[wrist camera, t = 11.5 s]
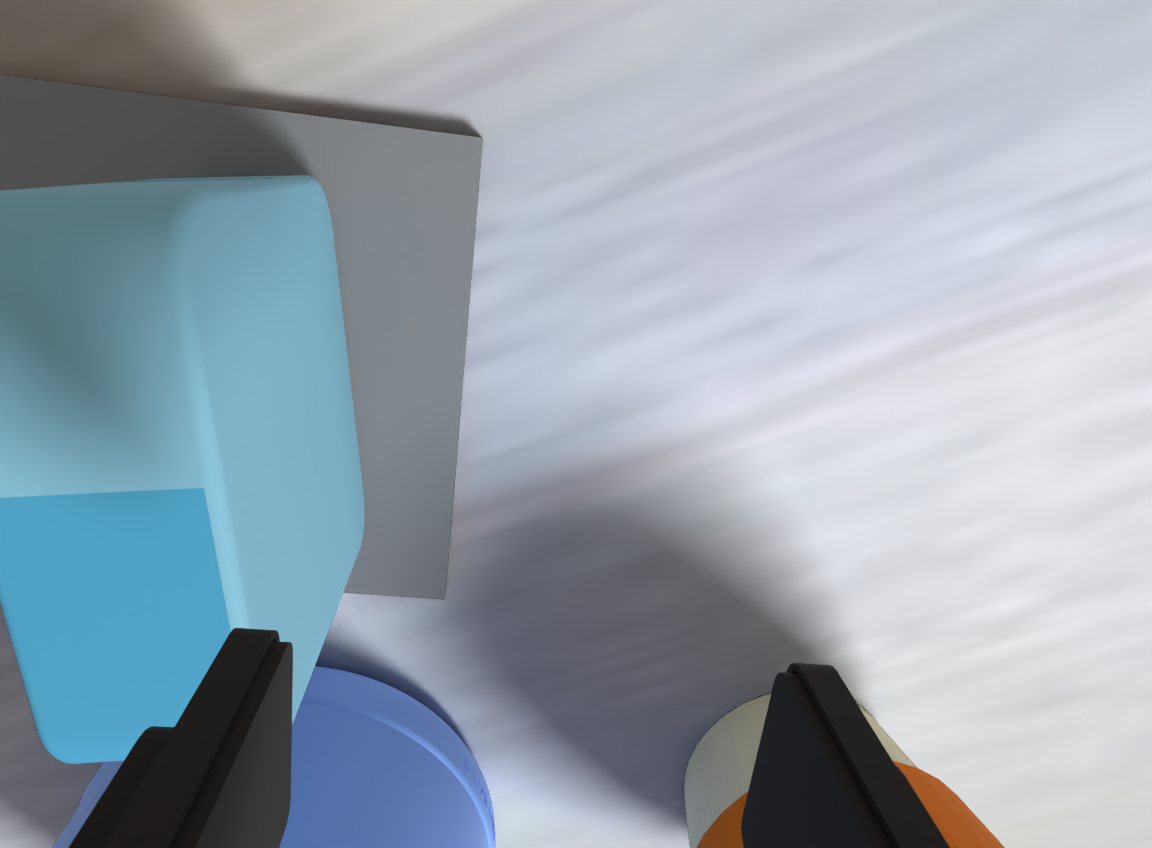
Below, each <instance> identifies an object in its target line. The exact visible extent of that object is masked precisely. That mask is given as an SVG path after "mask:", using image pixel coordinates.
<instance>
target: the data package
mask: <svg viewBox="0 0 1152 848" xmlns="http://www.w3.org/2000/svg"><path fill="white" fill-rule="evenodd" d="M363 531H364V492H363V483H362V475H361V466H360V458H359V449H358V440H357V432H356V423H355V415H354V406H353V398H352V389H351V381H350V372H349V363H348V355H347V346H346V338H345V329H344V321H343V312H342V304H341V295H340V286H339V278H338V269H337V261H336V252H335V244H334V235H333V227H332V221H331V215H330V210H329V206H328V202H327V199H326V196H325V193H324V191H323V189H322V187H321V185H320V184H319V182H318V181H317V180H316V179H315V178H313V177H311V176H308V175H291V176H250V177H210V178H169V179H151V180H137V181H124V182H110V183H97V184H84V185H70V186H57V187H43V188H30V189H16V190H3V191H0V604H1V608H2V611H3V614H4V618H5V621H6V625H7V628H8V632H9V635H10V639H11V642H12V646H13V649H14V652H15V656H16V659H17V663H18V666H19V670H20V673H21V677H22V680H23V683H24V687H25V690H26V694H27V697H28V701H29V704H30V708H31V711H32V715H33V718H34V721H35V725H36V728H37V731H38V734H39V737H40V739H41V741H42V743H43V745H44V747H45V748H46V749H47V751H48V752H49V753H50V754H51V755H52V756H53V757H54V758H56V759H58V760H59V761H61V762H65V763H68V764H81V763H95V762H110V761H124V760H125V758H126V757H127V755H128V754H129V752H130V751H131V749H132V747H133V746H134V744H135V743H136V741H137V740H138V738H139V737H140V736H141V734H142V733H143V732H144V731H145V730H146V729H147V728H149V727H151V726H159V727H175V725H176V724H177V722H178V720H179V718H180V717H181V715H182V713H183V712H184V710H185V708H186V707H187V705H188V703H189V701H190V700H191V698H192V696H193V695H194V693H195V691H196V690H197V688H198V686H199V684H200V683H201V681H202V679H203V678H204V676H205V674H206V673H207V671H208V669H209V668H210V666H211V664H212V662H213V661H214V659H215V657H216V656H217V654H218V652H219V651H220V649H221V647H222V645H223V644H224V642H225V640H226V639H227V637H228V635H229V634H230V632H231V631H232V630H233V629H234V628H248V629H264V630H277V631H278V633H279V637H280V642H291V643H292V646H293V686H292V724H293V722H294V719H295V716H296V714H297V711H298V709H299V706H300V703H301V701H302V698H303V696H304V693H305V690H306V688H307V685H308V683H309V680H310V677H311V675H312V672H313V670H314V667H315V664H316V662H317V659H318V657H319V654H320V651H321V649H322V646H323V644H324V641H325V638H326V636H327V633H328V631H329V628H330V625H331V623H332V620H333V618H334V615H335V612H336V610H337V607H338V605H339V602H340V599H341V597H342V594H343V592H344V589H345V586H346V584H347V581H348V579H349V576H350V573H351V571H352V568H353V566H354V563H355V560H356V558H357V555H358V553H359V550H360V547H361V543H362V539H363Z"/></svg>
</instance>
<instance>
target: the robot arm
mask: <svg viewBox="0 0 1152 848" xmlns="http://www.w3.org/2000/svg"><path fill="white" fill-rule="evenodd" d="M292 686H293V646H292V643H291V642H280V637H279V633H278V631H277V630H264V629H248V628H234V629H233V630H232V631H231V632H230V634H229V635H228V637H227V639H226V640H225V642H224V644H223V645H222V647H221V649H220V651H219V652H218V654H217V656H216V657H215V659H214V661H213V662H212V664H211V666H210V668H209V669H208V671H207V673H206V674H205V676H204V678H203V679H202V681H201V683H200V684H199V686H198V688H197V690H196V691H195V693H194V695H193V696H192V698H191V700H190V701H189V703H188V705H187V707H186V708H185V710H184V712H183V713H182V715H181V717H180V718H179V720H178V722H177V724H176V725H175V727H159V726H151V727H149V728H147V729H146V730H145V731H144V732H143V733H142V734H141V736H140V737H139V738H138V740H137V741H136V743H135V744H134V746H133V747H132V749H131V751H130V752H129V754H128V755H127V757H126V758H125V760H124V762H123V763H122V765H121V766H120V768H119V769H118V771H117V773H116V774H115V776H114V777H113V779H112V780H111V782H110V783H109V785H108V787H107V788H106V790H105V791H104V793H103V794H102V796H101V798H100V799H99V801H98V802H97V804H96V805H95V807H94V808H93V810H92V812H91V813H90V815H89V816H88V818H87V819H86V821H85V823H84V824H83V826H82V827H81V829H80V830H79V832H78V834H77V835H76V837H75V838H74V840H73V841H72V843H71V844H70V846H69V848H279V847H280V844H281V841H282V838H283V835H284V832H285V828H286V825H287V821H288V816H289V810H290V801H291V750H292ZM741 833H742V841H743V846H744V848H950V847H949V845H948V843H947V842H946V840H945V839H944V837H943V835H942V834H941V832H940V831H939V829H938V827H937V826H936V824H935V823H934V821H933V819H932V818H931V816H930V815H929V813H928V812H927V810H926V808H925V807H924V805H923V804H922V802H921V800H920V799H919V797H918V796H917V794H916V792H915V791H914V789H913V788H912V786H911V784H910V783H909V781H908V780H907V778H906V776H905V775H904V774H903V773H902V771H901V770H900V769H899V768H898V767H897V766H895V764H894V762H893V761H892V759H891V758H890V756H889V754H888V753H887V751H886V750H885V748H884V746H883V745H882V743H881V742H880V740H879V738H878V737H877V735H876V733H875V732H874V730H873V729H872V727H871V725H870V724H869V722H868V721H867V719H866V717H865V716H864V714H863V713H862V711H861V709H860V708H859V706H858V705H857V703H856V701H855V700H854V698H853V697H852V695H851V693H850V692H849V690H848V689H847V687H846V685H845V684H844V682H843V680H842V679H841V677H840V676H839V674H838V672H837V671H836V670H835V669H834V667H832V666H830V665H817V664H801V663H793V664H791V665H790V666H789V668H788V670H787V672H786V673H781V672H780V673H778V674H777V676H776V678H775V681H774V684H773V689H772V693H771V697H770V701H769V706H768V710H767V714H766V718H765V722H764V727H763V731H762V735H761V739H760V744H759V748H758V752H757V756H756V760H755V765H754V769H753V773H752V777H751V782H750V786H749V790H748V794H747V798H746V803H745V807H744V811H743V815H742V822H741Z"/></svg>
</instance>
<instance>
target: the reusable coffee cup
mask: <svg viewBox="0 0 1152 848" xmlns="http://www.w3.org/2000/svg"><path fill="white" fill-rule="evenodd" d="M770 697H771V694H768V695H764V696H761V697H759V698H756V699H754V700H751V701H749V702H746V703H744V704H742V705H740V706H739V707H737V708H735V709H734V710H732V711H731V712H729V713H727V714H726V715H724V716H723V717H722V718H721V719H720V720H719V721H718V722H716V723H715V724H714V725H713V726H712V727H711V728H710V729H709V730H708V731H707V732H706V734H705V735H704V736H703V737H702V739H701V740H700V741H699V742H698V744H697V746H696V748H695V750H694V752H693V753H692V755H691V757H690V759H689V762H688V766H687V770H686V774H685V782H684V797H685V806H686V816H687V825H688V835H689V844H690V848H744V846H743V841H742V833H741V822H742V815H743V811H744V807H745V803H746V798H747V794H748V790H749V786H750V782H751V777H752V773H753V769H754V765H755V760H756V756H757V752H758V748H759V744H760V739H761V735H762V731H763V727H764V722H765V718H766V714H767V710H768V706H769V701H770ZM858 706H859V705H858ZM859 708H860V709H861V711H862V713H863V714H864V716H865V717H866V719H867V721H868V722H869V724H870V725H871V727H872V729H873V730H874V732H875V733H876V735H877V737H878V738H879V740H880V742H881V743H882V745H883V746H884V748H885V750H886V751H887V753H888V754H889V756H890V758H891V759H892V761H893V762H894V764H895V766H897V767H898V768H899V769H900V770H901V771H902V773H903V774H904V775H905V776H906V778H907V780H908V781H909V783H910V784H911V786H912V788H913V789H914V791H915V792H916V794H917V796H918V797H919V799H920V800H921V802H922V804H923V805H924V807H925V808H926V810H927V812H928V813H929V815H930V816H931V818H932V819H933V821H934V823H935V824H936V826H937V827H938V829H939V831H940V832H941V834H942V835H943V837H944V839H945V840H946V842H947V843H948V845H949V847H950V848H1005V847H1004V846H1003V845H1002V844H1001V843H1000V842H999V841H998V840H997V839H996V838H995V836H994V835H993V834H992V833H991V832H990V831H989V830H988V829H987V828H986V827H985V825H984V824H983V823H982V822H981V821H980V820H979V819H978V818H977V817H976V816H975V814H974V813H973V812H972V811H971V810H970V809H969V808H968V807H967V806H966V805H965V803H964V802H963V801H962V800H961V799H960V798H959V797H958V796H957V795H956V794H955V793H954V792H953V791H952V790H950V789H949V788H948V787H947V786H946V785H945V784H944V783H942V782H941V781H940V780H939V779H937V778H935V777H933V776H931V775H930V774H928V773H926V772H924V771H922V770H920V769H918V768H917V767H916V766H915V765H914V763H913V762H912V761H911V760H910V759H909V758H908V757H907V755H906V754H905V753H904V752H903V751H902V750H901V749H900V748H899V746H898V745H897V744H896V743H895V742H894V741H893V740H892V739H891V737H890V736H889V735H888V734H887V733H886V732H885V731H884V729H883V728H882V727H881V726H880V725H879V724H878V723H877V722H876V720H875V719H874V718H873V717H872V716H871V715H870V714H868V713H867V712H866V711H865V710H864V709H863V708H862V707H860V706H859Z"/></svg>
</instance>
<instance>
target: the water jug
mask: <svg viewBox="0 0 1152 848" xmlns="http://www.w3.org/2000/svg"><path fill="white" fill-rule="evenodd" d="M123 762H124V761H110V762H103V764H102V765H101V767H100V768H99V770H98V771H97V773H96V774H95V776H94V777H93V779H92V780H91V782H90V783H89V785H88V787H87V789H86V791H85V793H84V795H83V797H82V799H81V801H80V804H79V807H78V809H77V811H76V812H75V814H74V815H73V817H72V818H71V820H70V821H69V823H68V824H67V826H66V827H65V829H64V830H63V832H62V833H61V835H60V836H59V838H58V839H57V841H56V842H55V844H54V845H53V847H52V848H69V846H70V844H71V843H72V841H73V840H74V838H75V837H76V835H77V834H78V832H79V830H80V829H81V827H82V826H83V824H84V823H85V821H86V819H87V818H88V816H89V815H90V813H91V812H92V810H93V808H94V807H95V805H96V804H97V802H98V801H99V799H100V798H101V796H102V794H103V793H104V791H105V790H106V788H107V787H108V785H109V783H110V782H111V780H112V779H113V777H114V776H115V774H116V773H117V771H118V769H119V768H120V766H121V765H122V763H123ZM279 848H495V824H494V813H493V807H492V802H491V797H490V794H489V790H488V787H487V784H486V781H485V779H484V776H483V774H482V772H481V770H480V768H479V766H478V764H477V762H476V760H475V759H474V757H473V755H472V754H471V752H470V751H469V749H468V748H467V747H466V745H465V744H464V742H463V741H462V740H461V739H460V738H459V736H458V735H457V734H456V733H455V732H454V731H453V730H452V729H451V728H450V727H449V726H448V725H447V724H446V723H445V722H444V721H443V720H442V719H441V718H440V717H439V716H437V715H436V714H435V713H434V712H432V711H431V710H430V709H429V708H427V707H426V706H424V705H423V704H421V703H420V702H418V701H417V700H415V699H414V698H412V697H410V696H409V695H407V694H405V693H403V692H401V691H399V690H397V689H395V688H393V687H391V686H389V685H387V684H384V683H382V682H379V681H377V680H374V679H371V678H368V677H365V676H362V675H359V674H355V673H351V672H347V671H343V670H338V669H332V668H326V667H318V666H315V667H314V670H313V672H312V675H311V677H310V680H309V683H308V685H307V688H306V690H305V693H304V696H303V698H302V701H301V703H300V706H299V709H298V711H297V714H296V716H295V719H294V722H293V724H292V750H291V801H290V810H289V816H288V821H287V825H286V828H285V832H284V835H283V838H282V841H281V844H280V847H279Z"/></svg>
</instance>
